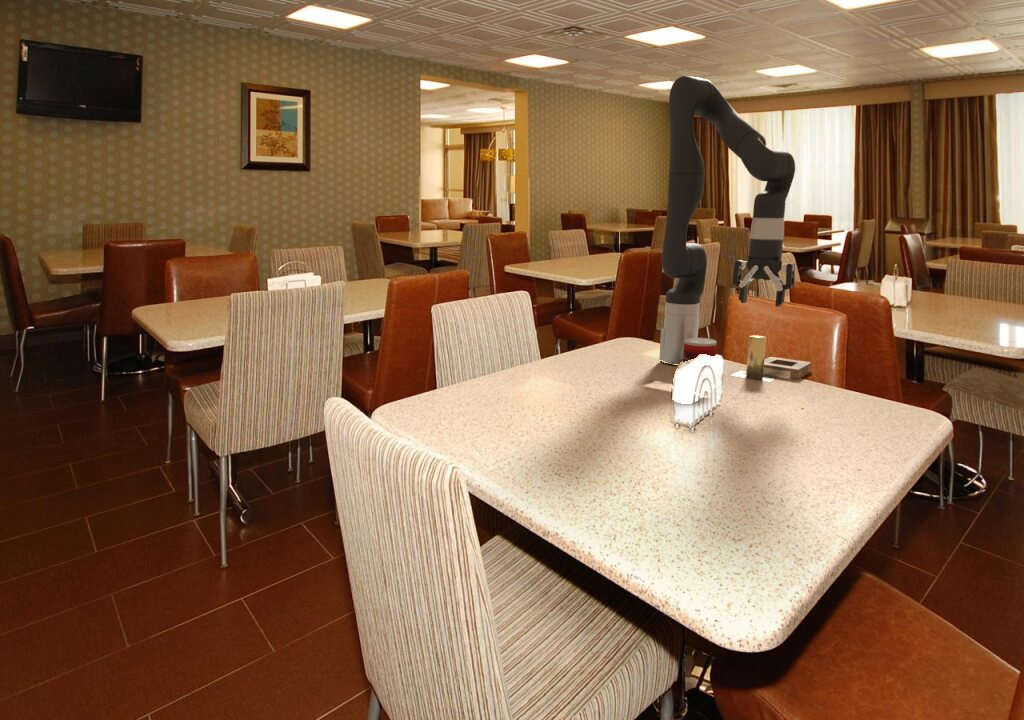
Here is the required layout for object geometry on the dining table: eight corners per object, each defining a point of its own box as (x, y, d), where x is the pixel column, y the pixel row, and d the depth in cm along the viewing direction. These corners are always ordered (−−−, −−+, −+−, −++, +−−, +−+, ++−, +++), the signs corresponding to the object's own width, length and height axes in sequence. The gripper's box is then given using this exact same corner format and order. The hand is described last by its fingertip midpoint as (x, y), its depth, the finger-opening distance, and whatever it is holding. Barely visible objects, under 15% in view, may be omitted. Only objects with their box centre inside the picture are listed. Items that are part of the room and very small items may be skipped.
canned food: (717, 382, 168) (720, 339, 166) (708, 389, 162) (711, 344, 159) (687, 378, 172) (689, 336, 170) (677, 385, 166) (680, 341, 163)
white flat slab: (729, 381, 169) (729, 375, 169) (739, 376, 175) (740, 370, 174) (768, 388, 163) (769, 382, 163) (778, 382, 168) (779, 376, 168)
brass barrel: (743, 376, 168) (746, 337, 166) (749, 373, 171) (752, 335, 169) (759, 379, 166) (762, 339, 164) (765, 376, 169) (768, 337, 167)
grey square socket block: (754, 378, 172) (755, 363, 171) (769, 371, 180) (770, 356, 179) (796, 385, 166) (798, 369, 165) (810, 377, 174) (811, 362, 173)
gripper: (731, 236, 163) (726, 303, 166) (791, 238, 154) (785, 309, 157) (743, 235, 168) (738, 300, 172) (802, 237, 159) (795, 305, 163)
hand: (760, 304), depth 165 cm, fingers open, 8 cm apart
